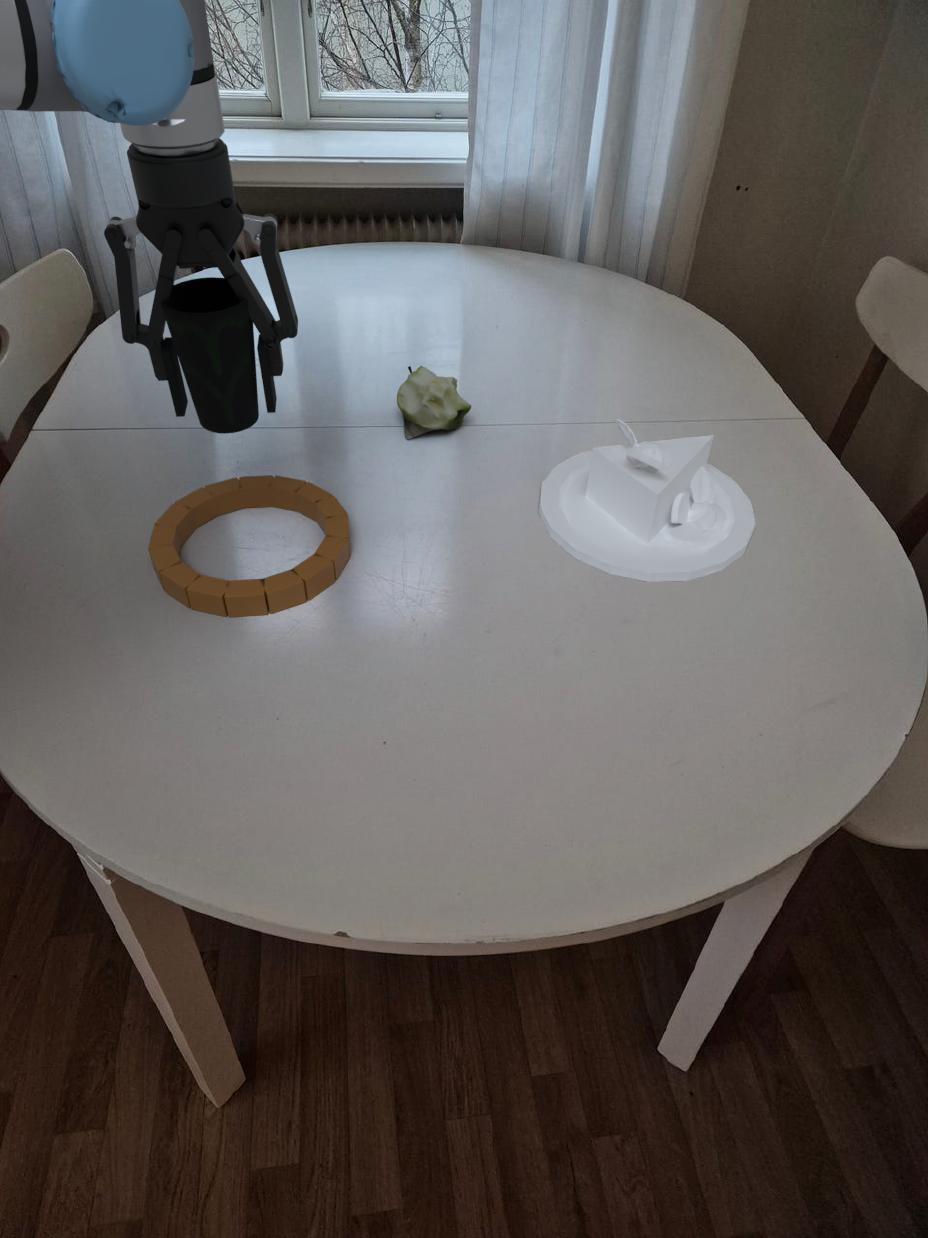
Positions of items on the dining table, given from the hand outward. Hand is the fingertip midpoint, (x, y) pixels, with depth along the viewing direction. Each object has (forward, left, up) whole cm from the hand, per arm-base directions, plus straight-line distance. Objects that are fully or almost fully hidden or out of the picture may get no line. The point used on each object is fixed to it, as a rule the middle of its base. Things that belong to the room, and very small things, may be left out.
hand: (227, 406), depth 82 cm
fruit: (+22, +26, -18) cm, 39 cm away
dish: (+45, +4, -18) cm, 49 cm away
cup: (0, 0, -1) cm, 1 cm away
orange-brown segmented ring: (0, +1, -18) cm, 18 cm away
